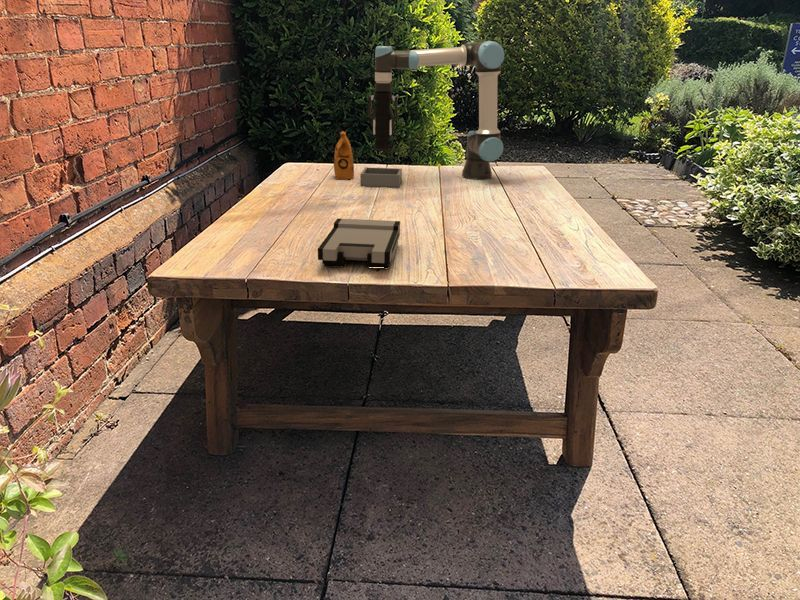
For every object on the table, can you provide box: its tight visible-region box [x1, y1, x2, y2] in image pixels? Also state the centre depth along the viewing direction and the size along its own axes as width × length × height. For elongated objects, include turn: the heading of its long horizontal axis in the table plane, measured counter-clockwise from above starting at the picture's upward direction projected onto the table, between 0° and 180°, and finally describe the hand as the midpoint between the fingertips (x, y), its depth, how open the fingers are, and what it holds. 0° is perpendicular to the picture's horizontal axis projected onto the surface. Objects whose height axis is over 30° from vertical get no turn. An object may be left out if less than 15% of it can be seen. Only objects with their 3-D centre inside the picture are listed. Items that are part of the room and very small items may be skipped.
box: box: [359, 167, 403, 189], centre depth 321 cm, size 18×18×6 cm
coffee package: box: [333, 130, 355, 180], centre depth 330 cm, size 10×12×22 cm
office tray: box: [317, 218, 401, 268], centre depth 208 cm, size 21×32×8 cm, turn 175°
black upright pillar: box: [371, 92, 394, 152], centre depth 311 cm, size 10×26×10 cm
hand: (382, 134), depth 314 cm, fingers closed on black upright pillar, 7 cm apart
